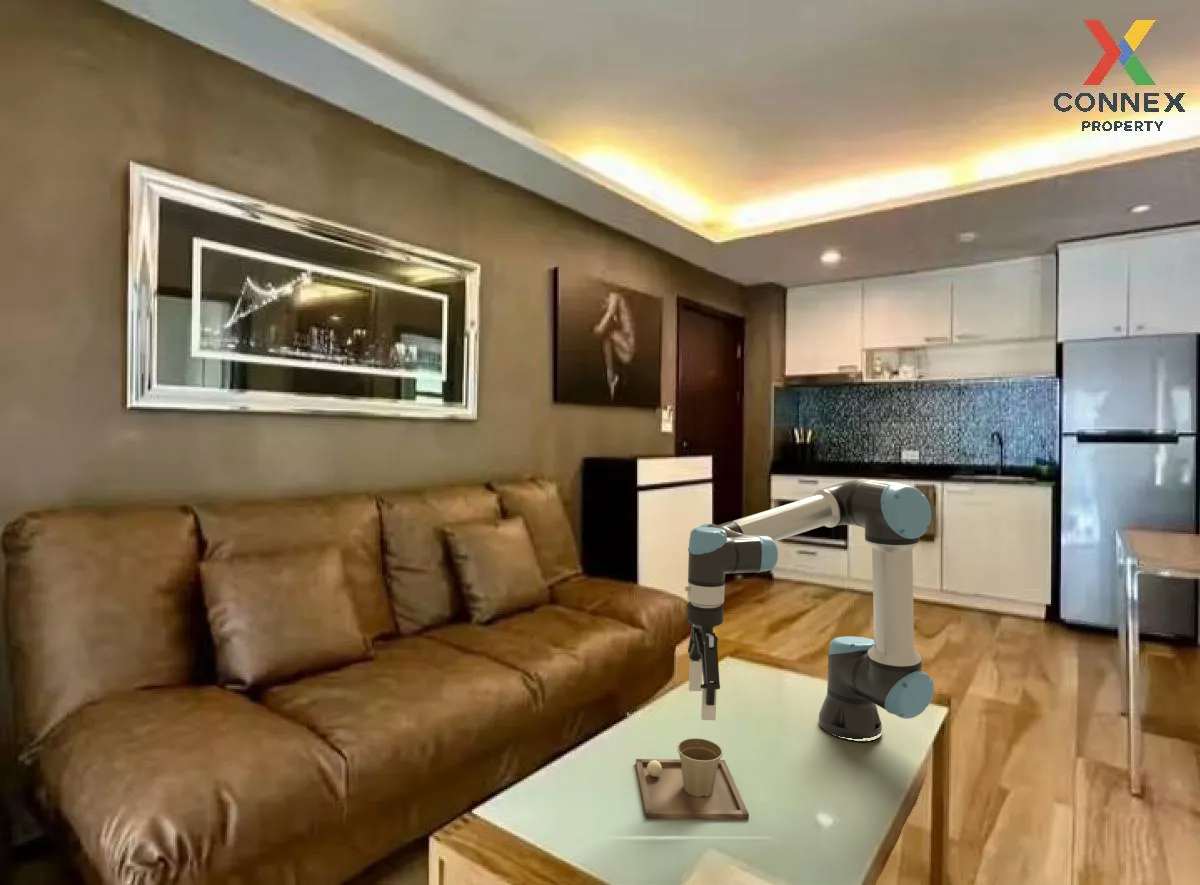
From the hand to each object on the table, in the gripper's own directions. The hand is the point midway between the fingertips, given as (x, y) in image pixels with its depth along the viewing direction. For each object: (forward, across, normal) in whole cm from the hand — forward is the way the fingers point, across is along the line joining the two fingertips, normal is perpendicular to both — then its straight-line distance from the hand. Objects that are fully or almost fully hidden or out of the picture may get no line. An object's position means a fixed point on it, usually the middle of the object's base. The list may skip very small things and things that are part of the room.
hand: (701, 704), depth 135 cm
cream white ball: (+18, -5, -9) cm, 21 cm away
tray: (+18, 0, -2) cm, 19 cm away
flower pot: (+18, 0, 0) cm, 18 cm away
